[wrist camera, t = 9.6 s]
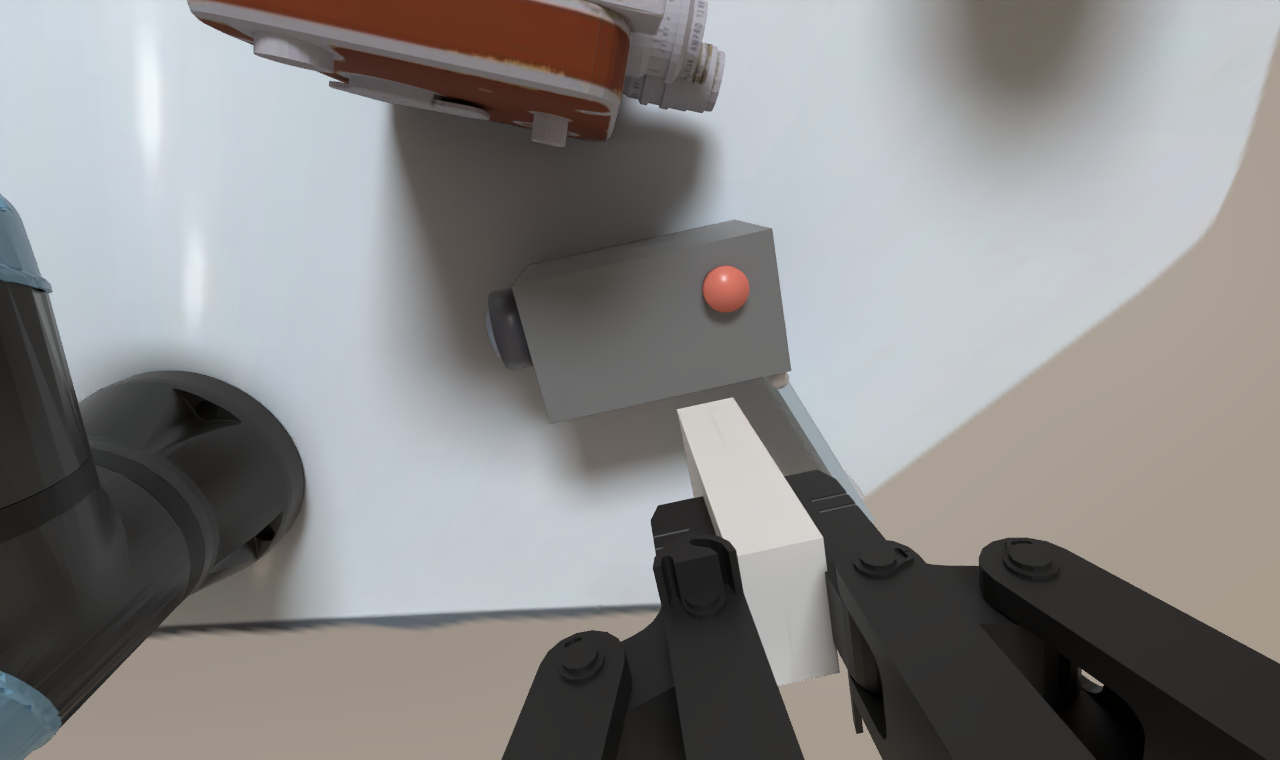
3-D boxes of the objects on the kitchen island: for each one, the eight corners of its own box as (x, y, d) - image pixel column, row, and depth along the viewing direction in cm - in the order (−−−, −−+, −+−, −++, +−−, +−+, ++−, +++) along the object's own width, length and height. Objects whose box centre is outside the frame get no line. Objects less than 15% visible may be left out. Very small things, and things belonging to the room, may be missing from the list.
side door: (839, 467, 45) (882, 517, 38) (822, 477, 45) (862, 529, 38) (756, 334, 41) (788, 363, 35) (739, 346, 42) (766, 377, 35)
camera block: (525, 385, 42) (505, 441, 33) (493, 273, 40) (461, 299, 31) (752, 335, 42) (795, 377, 33) (734, 219, 40) (776, 229, 31)
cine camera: (685, 181, 39) (769, 176, 20) (378, 120, 37) (141, 48, 18) (716, 24, 36) (847, -154, 17) (386, -53, 34) (119, -356, 15)
